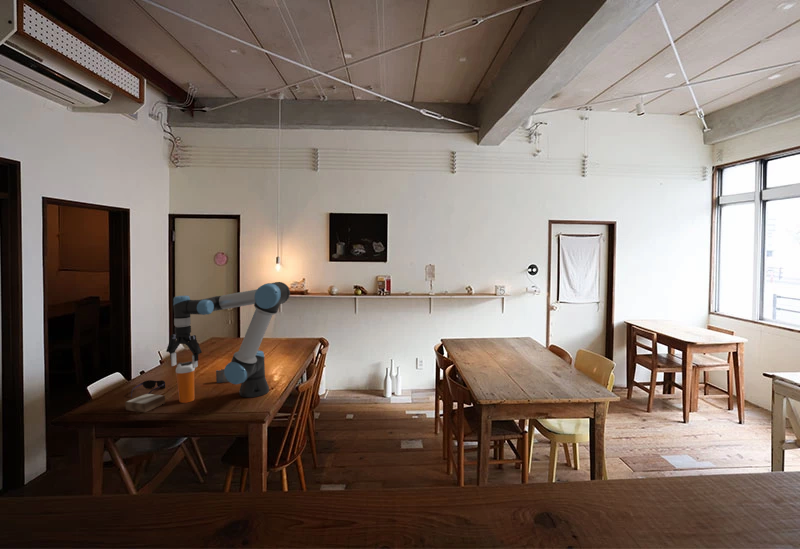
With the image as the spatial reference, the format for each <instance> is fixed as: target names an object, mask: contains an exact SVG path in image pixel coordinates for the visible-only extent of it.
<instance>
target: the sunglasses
mask: <svg viewBox="0 0 800 549" xmlns="http://www.w3.org/2000/svg"><path fill="white" fill-rule="evenodd" d="M141 386H142V387H143V388H145V389H147V388H149V389H151V390H150V391H149V392H148V393H147V394H152V392H153V391H155V390H157V389H163V388H164V389H165V388H166V382H165V380H161V379H160V380H153V379H151V380H150V379H149V380H144V381H142V382H141V383H138V385H136V386H134V387H133V388H132V389H131V393H130V394H131V395H130V398H133V391H134V390H135V389H137V388H138V387H141ZM152 387H153V388H152ZM160 387H162V388H160Z"/></svg>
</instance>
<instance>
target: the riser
mask: <svg viewBox="0 0 800 549" xmlns="http://www.w3.org/2000/svg"><path fill="white" fill-rule="evenodd" d="M124 404H125V410H126V411H131V412H132V411H133V412H139V413H140V412H141V413H147V412H149V411H151V410H153V409H156V408H158V407H160V406H162V404H163V405H165V404H166V395H161V394H152V393H150V394H148V393H144V394H142V395H139V396H137V397H135V398H132V399H129V400H127V401H125V403H124Z"/></svg>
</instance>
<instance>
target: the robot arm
mask: <svg viewBox="0 0 800 549" xmlns="http://www.w3.org/2000/svg"><path fill="white" fill-rule="evenodd" d="M290 296H291V290H290V287H289V286H288V285H287V284H286V283H284V282H282V281H276V282H275V281H274V282H271V283H270V282H269V283H264V284H263V285H260V286H259V287H258V288H257V289H251V290H246V291H241V292H233V293H229V294H224V295H223V294H222V295H214V296H212V297H207V298H202V299H191V298H190V296H189V295H176V296H174V297H173V304H172V306H173V314H174V315H173V324H174V334H171V335H170V340H169V343H168V345H167V347H166V351H165V352H167V353H169V358H170V365H171V366H170V367H174V366H177V365H178V362H177V352H176V351H177V349H178V348H179V347H180V344H181V345H182V344H183V345H185V346H187V347H188V348H189V350H190V352H191V353H192V355H191V359H192V360H191V362H192V365H193V368H195V369H196V368H198V365H199V362H198V361H199V355H200V354H202V349H201V347H200V345H199V342H198V340H197V336H196V335H194V334H193V335H191V333H192V326H191V324H192V323H191V320H192V319H191V315H201V316H202V315H203V316H205V315H210V314H212V313H213V312H216V311H221V310H227V309H233V308H239V307H244V306H250V305H253V306H254V308H255V309H254V312H253V315H252V316H251V320H250V322H249V324H248V326H247V327H248V328H247V329H246V332H245V334H244V337H243V340H242V342H241V344H240V347H239V349H238V351H236V352H234V353H233V356H232V358H231V361H230V362H228V363H227V364H226V365H225V367H224V368H223V369H224V375H225V377H226V379H227V380H228V381H229V382H228V383H230V384H233V385H240V388H239V391H238V392H239V396H240V397H243V398H257V397H262V396H265V395H266V394H268V393H270V386H269V385H268V381H267V379H266V370H265V369H266V368H265V353H264V351H262V350H260V349H259V348H260V346H261V343H262V341H263V339H264V336H265V334H266V331H267V329H268V327H269V324H270V323H271V322H270V321H271V319H272V317H273V316H274V315H276V314H277V313H278V311H279V308H280V306H281V305H283V304H285V303H286V302H287V301H288V300H289V298H290Z"/></svg>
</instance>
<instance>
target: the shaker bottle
mask: <svg viewBox="0 0 800 549" xmlns="http://www.w3.org/2000/svg"><path fill="white" fill-rule="evenodd" d="M195 370H196V367H195V368H193V363H192V361H186V362H185V361H184V362H177V365H176V368H175V374H176V375H175V376H176V381H177V383H176V384H177V390H178V391H177V392H178V401H179V403H183V404H185V403H190V402H194V400H195Z"/></svg>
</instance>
